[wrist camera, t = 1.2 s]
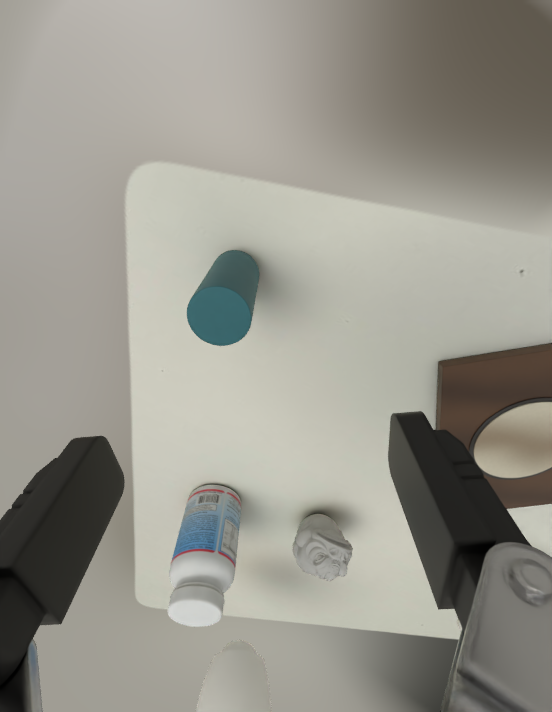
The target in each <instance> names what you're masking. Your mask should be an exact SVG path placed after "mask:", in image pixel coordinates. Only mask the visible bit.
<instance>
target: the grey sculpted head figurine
mask: <svg viewBox="0 0 552 712" xmlns="http://www.w3.org/2000/svg"><path fill="white" fill-rule="evenodd" d="M352 550H353V548H352V546H351V544H350V543H349V542H348V540H345V539H344V537H343V534H342V532H341V531H340V529H339V527H338V525H337V524H336V523H335V521H334V520H332V519H331V518H330V517H328V516H326V515H323V514H313V515H310V516H308V517H307V518H305V519H304V520H303V521H302V522H301V524H300V526H299V528H298V531H297V535H296V537H295V542H294V543H293V554H294V556H295V558H296V561H297V565H298V566H299V567H300V568H301V569H302V570H303V571H304V572H305V573H308V574H311V575H314V576H318V577H319V578H321V579H326V580H327V581H328V580H330V581H332V580H333V579H334V578H336V577H337V576H345V575H346V574H347V565H348V562H349V561H350V558H351V556H352Z"/></svg>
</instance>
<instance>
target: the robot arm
mask: <svg viewBox="0 0 552 712" xmlns="http://www.w3.org/2000/svg"><path fill="white" fill-rule="evenodd" d="M388 460H389V468H390V473H391V477H392V480H393V483H394V485H395V488H396V491H397V494H398V497H399V499H400V502H401V505H402V508H403V511H404V514H405V516H406V519H407V522H408V525H409V528H410V530H411V533H412V536H413V539H414V542H415V545H416V547H417V550H418V553H419V556H420V559H421V561H422V564H423V567H424V570H425V573H426V576H427V578H428V581H429V584H430V587H431V590H432V593H433V595H434V598H435V601H436V604H437V607H438V609H455V611H456V614H457V616H458V619H459V621H460V624H461V626H462V630H461V634H460V638H459V641H458V645H457V650H456V653H455V657H454V660H453V664H452V668H451V672H450V676H449V679H448V683H447V687H446V691H445V695H444V698H443V702H442V706H441V710H440V712H552V557H550V556H549V555H547V554H546V553H544V552H542V551H540V550H538V549H536V548H534V547H532V546H531V545H530V544H529V542H528V541H527V540H526V538H525V537H524V536H523V534H522V533H521V531H520V529H519V528H518V526H517V525H516V523H515V522H514V520H513V519H512V517H511V516H510V514H509V513H508V511H507V509H506V508H505V506H504V505H503V503H502V502H501V500H500V499H499V497H498V496H497V494H496V493H495V491H494V490H493V488H492V486H491V485H490V483H489V482H488V480H487V479H486V478H484V474H483V473H482V471H481V470H480V468H479V467H478V465H477V464H475V462H474V459H473V457H472V456H471V454H470V453H469V451H468V450H467V448H466V447H465V445H464V444H463V443H462V442H461V441H460V440H459V439H457V438H456V437H455V436H453V435H452V434H451V433H450V432H448V431H447V430H446V429H444V430H433V428H432V427H431V425H430V423H429V421H428V420H427V418H426V416H425V415H424V413H423V412H421V411H419V412H406V413H394V414H392V416H391V422H390V436H389V451H388ZM123 490H124V475H123V472H122V470H121V467H120V465H119V463H118V461H117V459H116V457H115V455H114V453H113V450H112V448H111V446H110V444H109V442H108V440H107V439H106V438H105V437H103V436H94V437H81V438H75V439H73V440H71V441H70V443H69V444H68V445H67V446H66V448H65V449H64V450H63V452H62V453H61V454H60V456H59V457H58V458H55V459H53V461H51V462H50V463H49V464H48V465H46V466H45V467H44V468H43V469H42V470H40V471H39V472H38V473H36V475H35V476H34V477H33V479H32V480H31V481H30V482H29V484H28V485H27V486H26V488H25V489H24V490H23V494H20V495H19V497H18V498H17V499H16V501H15V502H14V503H13V504H12V508H11V509H9V510H8V511H7V512H6V514H5V515H4V516H3V517H2V518H1V520H0V712H43V711H42V700H41V689H40V678H39V666H38V656H37V647H36V643H35V641H34V640H33V637H34V635H35V633H36V631H37V629H38V627H39V626H40V625H52V624H61V623H62V621H63V619H64V617H65V615H66V613H67V611H68V609H69V606H70V604H71V602H72V600H73V598H74V596H75V594H76V592H77V589H78V587H79V585H80V583H81V581H82V579H83V577H84V575H85V572H86V570H87V568H88V566H89V564H90V562H91V560H92V558H93V556H94V553H95V551H96V549H97V547H98V545H99V543H100V541H101V539H102V536H103V534H104V532H105V530H106V528H107V526H108V524H109V522H110V519H111V517H112V515H113V513H114V511H115V509H116V507H117V505H118V502H119V500H120V498H121V496H122V494H123Z"/></svg>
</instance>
